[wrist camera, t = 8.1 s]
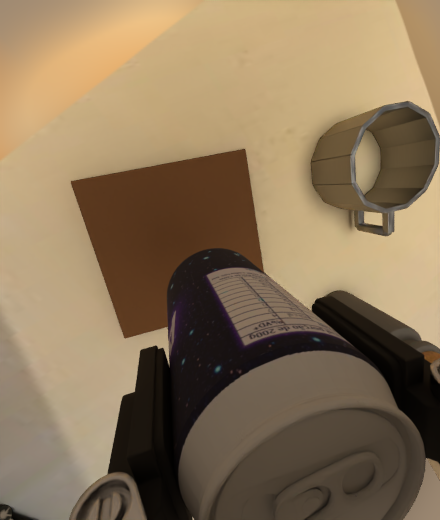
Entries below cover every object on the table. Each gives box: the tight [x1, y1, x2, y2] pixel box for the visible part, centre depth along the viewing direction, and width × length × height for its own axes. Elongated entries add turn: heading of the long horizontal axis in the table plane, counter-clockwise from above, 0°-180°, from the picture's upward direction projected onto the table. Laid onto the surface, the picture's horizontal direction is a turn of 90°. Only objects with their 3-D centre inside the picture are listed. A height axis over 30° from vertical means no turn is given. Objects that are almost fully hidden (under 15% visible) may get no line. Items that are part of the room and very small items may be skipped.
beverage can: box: [167, 248, 426, 520], centre depth 11 cm, size 6×6×12 cm
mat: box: [71, 149, 264, 338], centre depth 30 cm, size 18×18×1 cm
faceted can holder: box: [311, 101, 440, 236], centre depth 30 cm, size 13×10×7 cm
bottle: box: [327, 291, 440, 363], centre depth 30 cm, size 6×6×15 cm
